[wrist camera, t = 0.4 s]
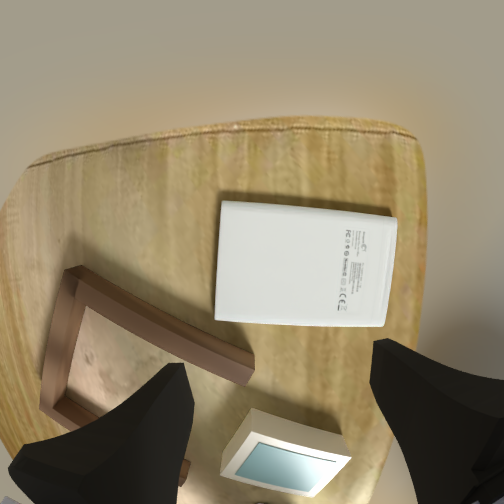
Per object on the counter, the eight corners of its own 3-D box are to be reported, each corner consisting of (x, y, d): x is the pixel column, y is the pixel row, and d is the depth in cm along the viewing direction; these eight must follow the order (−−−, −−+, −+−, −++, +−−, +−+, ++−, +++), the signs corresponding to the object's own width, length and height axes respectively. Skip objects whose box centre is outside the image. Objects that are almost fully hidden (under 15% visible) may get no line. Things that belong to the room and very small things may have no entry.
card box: (307, 473, 23) (313, 498, 20) (222, 449, 23) (219, 476, 19) (341, 433, 23) (351, 458, 19) (251, 405, 22) (251, 432, 19)
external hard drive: (223, 201, 21) (389, 217, 21) (216, 314, 22) (376, 322, 22) (221, 199, 19) (399, 217, 20) (213, 321, 20) (384, 328, 20)
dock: (185, 469, 23) (181, 487, 20) (51, 397, 22) (39, 409, 20) (254, 354, 22) (254, 370, 19) (81, 265, 21) (64, 269, 18)
